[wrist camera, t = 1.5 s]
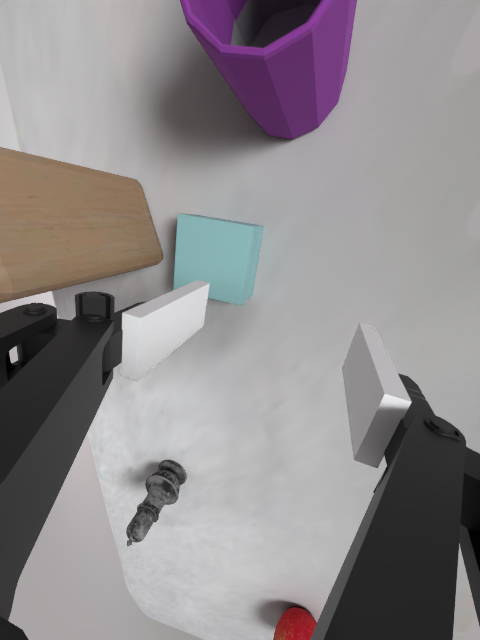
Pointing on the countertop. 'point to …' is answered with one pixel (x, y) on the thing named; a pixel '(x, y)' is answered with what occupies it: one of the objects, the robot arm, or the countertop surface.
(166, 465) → the grey chess piece
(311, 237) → the countertop surface
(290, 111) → the mug
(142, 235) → the wooden block
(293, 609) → the apple
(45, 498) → the robot arm
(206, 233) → the teal block
